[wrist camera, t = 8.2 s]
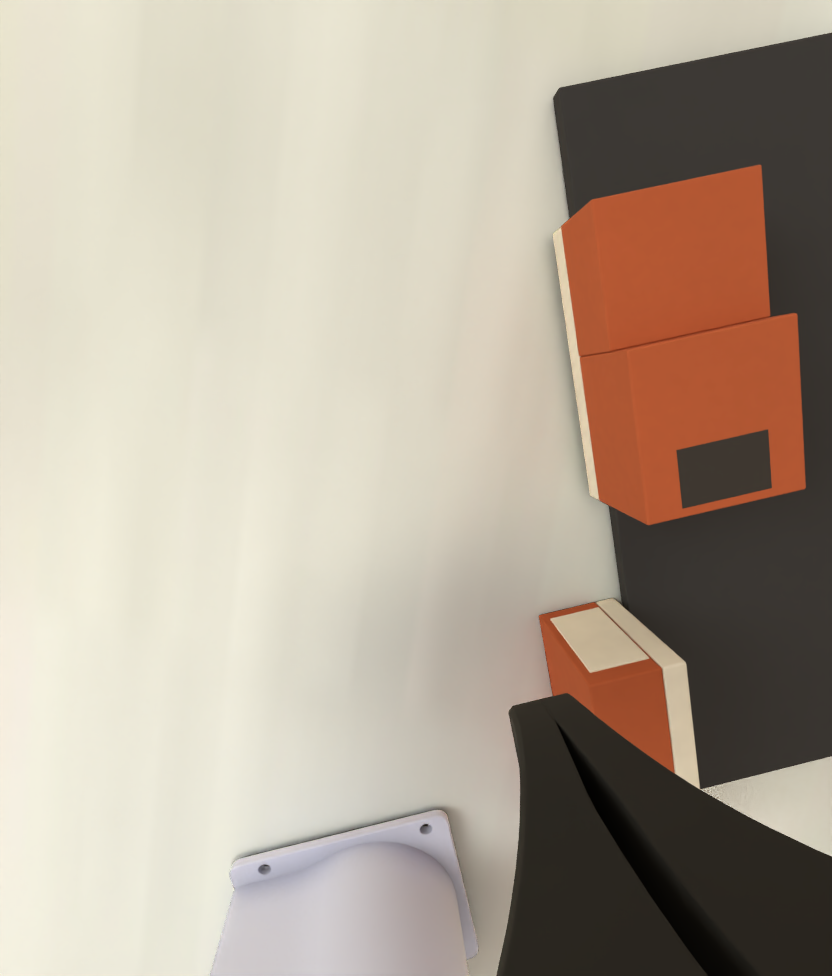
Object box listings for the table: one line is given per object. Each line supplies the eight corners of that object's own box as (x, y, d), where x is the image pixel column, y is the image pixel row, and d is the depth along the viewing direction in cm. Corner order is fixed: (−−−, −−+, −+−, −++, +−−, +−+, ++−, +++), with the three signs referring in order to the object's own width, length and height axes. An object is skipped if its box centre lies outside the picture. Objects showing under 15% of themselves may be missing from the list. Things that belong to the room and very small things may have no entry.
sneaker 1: (549, 809, 22) (598, 928, 18) (513, 618, 20) (557, 692, 16) (639, 786, 23) (713, 898, 18) (613, 595, 21) (688, 661, 16)
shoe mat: (647, 790, 23) (655, 802, 22) (552, 97, 17) (559, 85, 16) (877, 733, 23) (892, 742, 22) (863, 34, 17) (881, 20, 17)
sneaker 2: (647, 526, 15) (808, 489, 15) (606, 182, 13) (792, 143, 13) (589, 496, 19) (716, 467, 19) (551, 231, 17) (693, 201, 17)
